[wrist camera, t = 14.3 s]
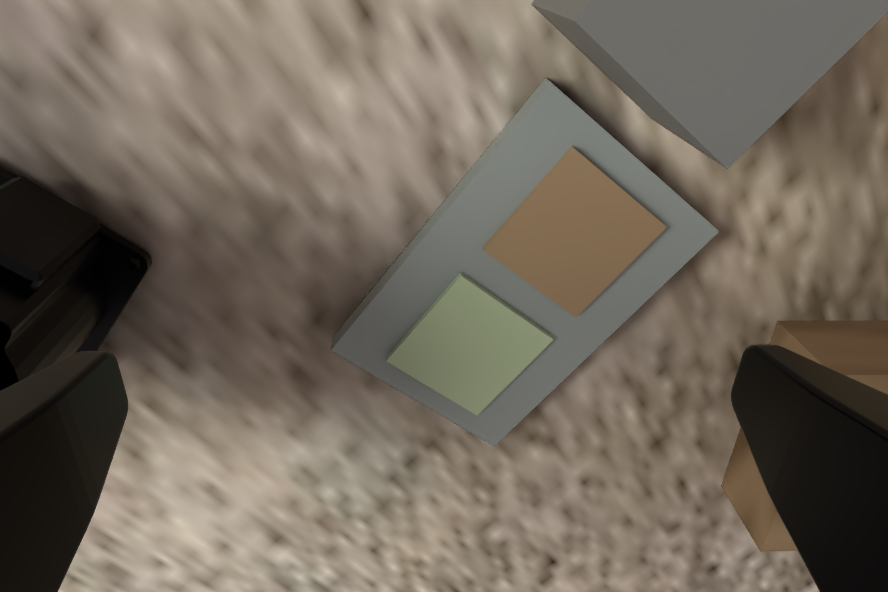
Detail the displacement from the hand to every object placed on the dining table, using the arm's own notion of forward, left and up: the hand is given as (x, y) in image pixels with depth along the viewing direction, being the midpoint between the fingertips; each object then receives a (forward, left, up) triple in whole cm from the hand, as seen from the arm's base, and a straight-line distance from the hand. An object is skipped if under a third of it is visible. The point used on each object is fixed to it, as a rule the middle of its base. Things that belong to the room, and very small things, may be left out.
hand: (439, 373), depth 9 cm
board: (-2, -6, -13) cm, 14 cm away
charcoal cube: (+8, -3, -13) cm, 16 cm away
